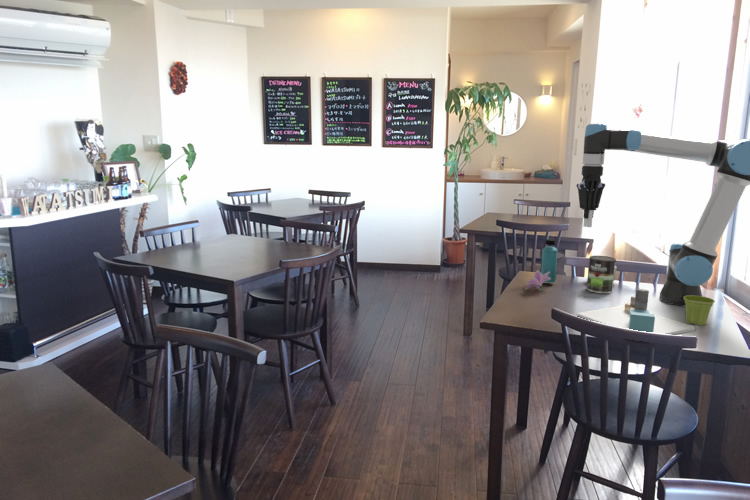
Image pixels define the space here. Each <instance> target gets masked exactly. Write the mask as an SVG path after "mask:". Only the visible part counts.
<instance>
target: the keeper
mask: <svg viewBox="0 0 750 500" xmlns="http://www.w3.org/2000/svg"><path fill="white" fill-rule="evenodd" d="M650 313H651V312H650V311H649V310H647V311H646V310H636V309H629V314H630V320H629V329H633V330H638V331H646V332H653V330H654V322H655V316H654V314H655V313H652V314H650Z"/></svg>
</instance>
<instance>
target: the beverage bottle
mask: <svg viewBox="0 0 750 500" xmlns="http://www.w3.org/2000/svg"><path fill="white" fill-rule="evenodd" d="M545 245H547V246H545V247H544V248H542V255H541V256H542V258H541V270H540V272H541V273H542V275H543V274H545V273H547V272H550V273H549V274H548V275H547V277H550V278H551V279H550V280H547V281H544V282H543V283H555V282H556V279H557V269H558V266H557V265H558V264H557V263H558V261H557V260H558V251H559V250H558V249H557V248H556V247H555V245H556V239H552V238H551V239H550V238H547V239H546V240H545Z"/></svg>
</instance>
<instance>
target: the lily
mask: <svg viewBox="0 0 750 500" xmlns="http://www.w3.org/2000/svg"><path fill="white" fill-rule="evenodd" d="M549 273H550V272H547V273H545V274H543V275H542V273H541V270H536V271H535V272H534V275H532V276H533V277H532V279H529V280H527V281H525V283H526V284H527V286H525V288H524V291H526V290H528V289H530V288H532V287H535V288H536V289H538V290H540V288H541V289H542V292H543V295H546V293H545V291H544V287H543V286H542V284H543V283H545V282H544V281H547V280H550V279H551V278H550V277H547V275H548V274H549Z"/></svg>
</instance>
